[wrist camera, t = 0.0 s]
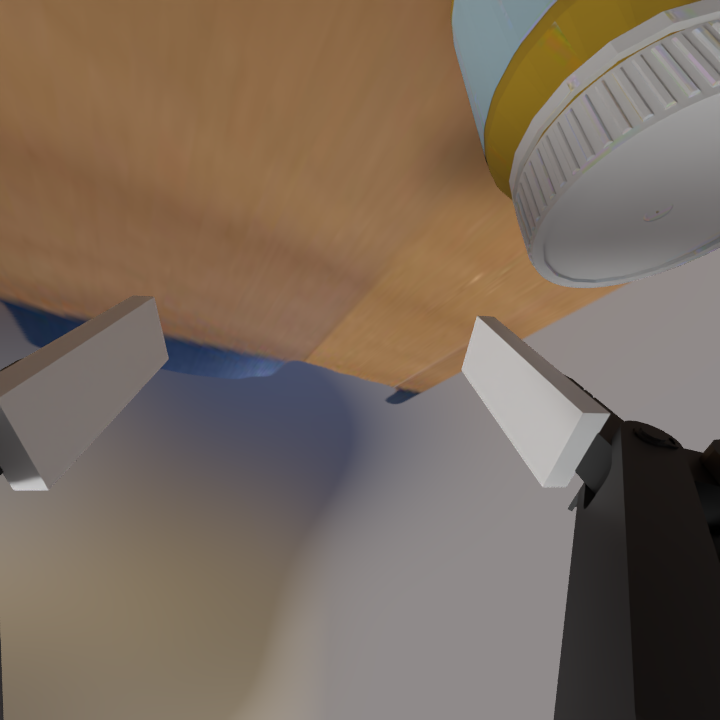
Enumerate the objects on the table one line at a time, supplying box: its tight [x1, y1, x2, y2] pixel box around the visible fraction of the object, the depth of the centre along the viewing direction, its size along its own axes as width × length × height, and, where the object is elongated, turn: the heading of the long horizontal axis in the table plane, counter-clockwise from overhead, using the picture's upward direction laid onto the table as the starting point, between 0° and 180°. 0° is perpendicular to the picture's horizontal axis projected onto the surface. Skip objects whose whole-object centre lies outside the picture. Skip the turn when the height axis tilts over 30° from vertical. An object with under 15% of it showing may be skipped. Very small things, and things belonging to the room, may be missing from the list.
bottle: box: [451, 0, 720, 288], centre depth 11 cm, size 7×7×15 cm
